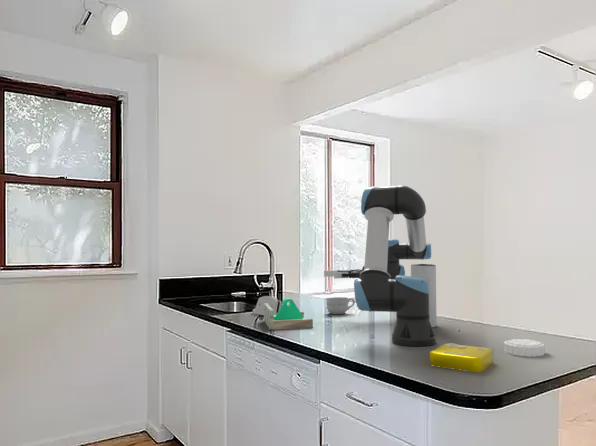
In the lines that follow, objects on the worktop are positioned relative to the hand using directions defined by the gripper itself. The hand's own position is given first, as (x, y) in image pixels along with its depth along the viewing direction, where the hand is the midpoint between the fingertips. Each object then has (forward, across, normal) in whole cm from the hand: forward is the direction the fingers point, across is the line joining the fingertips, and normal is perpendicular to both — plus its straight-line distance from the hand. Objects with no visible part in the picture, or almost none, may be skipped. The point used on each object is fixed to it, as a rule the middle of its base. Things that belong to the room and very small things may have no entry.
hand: (328, 274), depth 229 cm
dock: (+21, -2, -21) cm, 30 cm away
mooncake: (-38, -79, -22) cm, 91 cm away
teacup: (-12, +18, -21) cm, 30 cm away
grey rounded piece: (+22, +30, -21) cm, 43 cm away
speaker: (-33, -26, -21) cm, 47 cm away
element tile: (-11, -85, -23) cm, 89 cm away
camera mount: (+20, 0, -20) cm, 28 cm away
